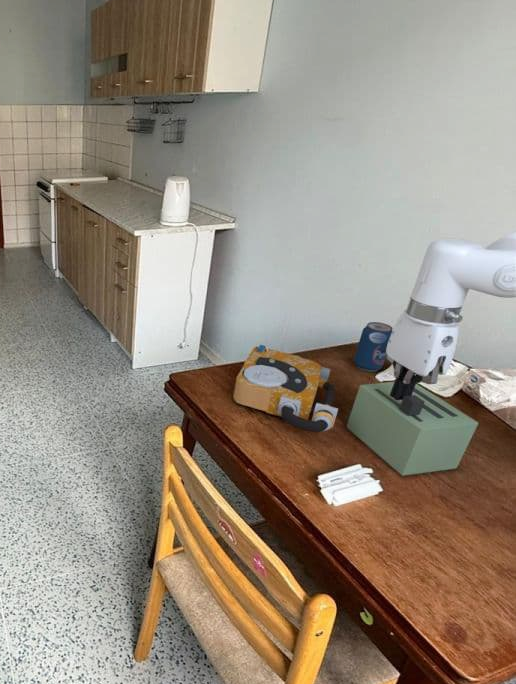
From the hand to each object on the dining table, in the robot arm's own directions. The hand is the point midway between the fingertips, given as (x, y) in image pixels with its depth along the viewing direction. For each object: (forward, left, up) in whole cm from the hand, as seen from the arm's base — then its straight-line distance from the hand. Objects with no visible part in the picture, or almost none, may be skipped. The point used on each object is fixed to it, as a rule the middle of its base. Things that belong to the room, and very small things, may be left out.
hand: (399, 397), depth 92 cm
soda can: (-22, -32, -13) cm, 41 cm away
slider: (0, +3, -1) cm, 3 cm away
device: (+10, -20, -13) cm, 26 cm away
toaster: (-4, 0, -13) cm, 13 cm away
